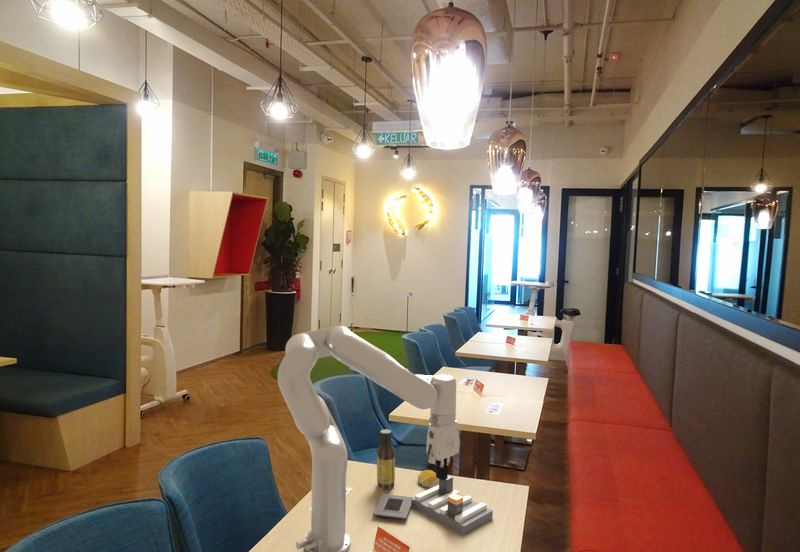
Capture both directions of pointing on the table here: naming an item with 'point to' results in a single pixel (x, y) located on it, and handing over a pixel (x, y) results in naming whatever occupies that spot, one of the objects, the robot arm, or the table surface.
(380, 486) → the sauce bottle
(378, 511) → the grey flat block
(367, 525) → the table surface
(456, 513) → the block
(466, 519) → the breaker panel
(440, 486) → the on breaker handle
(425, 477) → the bread roll
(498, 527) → the table surface
